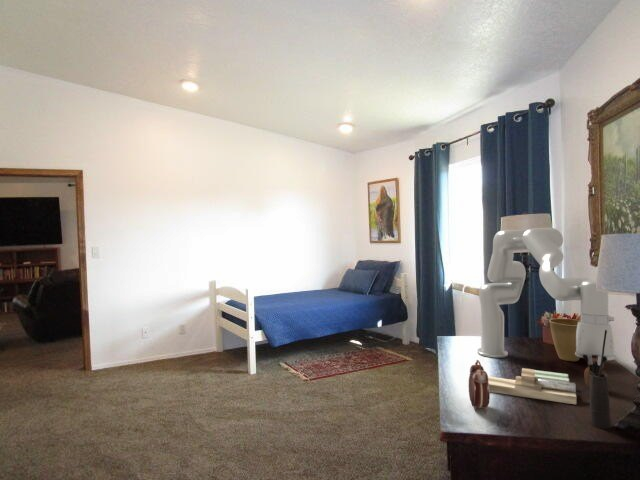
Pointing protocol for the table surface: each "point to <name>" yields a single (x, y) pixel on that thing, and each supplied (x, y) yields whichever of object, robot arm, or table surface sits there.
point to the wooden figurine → (587, 375)
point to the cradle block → (551, 376)
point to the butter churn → (599, 397)
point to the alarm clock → (479, 387)
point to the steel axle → (556, 385)
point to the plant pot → (565, 338)
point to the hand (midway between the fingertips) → (594, 376)
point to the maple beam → (529, 388)
